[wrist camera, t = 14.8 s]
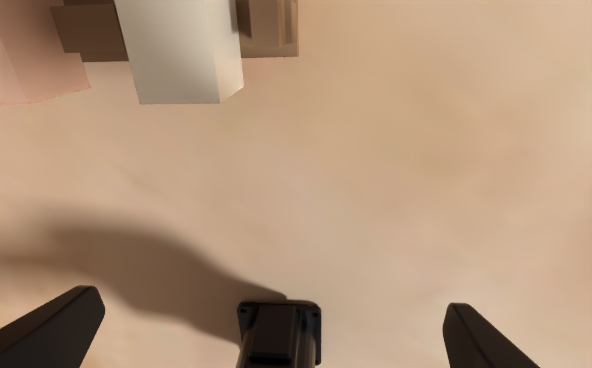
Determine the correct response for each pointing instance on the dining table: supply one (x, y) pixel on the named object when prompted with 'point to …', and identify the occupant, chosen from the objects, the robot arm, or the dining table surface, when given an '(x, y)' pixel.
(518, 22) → the dining table surface
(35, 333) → the robot arm
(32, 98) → the clay strip
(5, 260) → the dining table surface
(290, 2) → the rack
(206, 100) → the strip
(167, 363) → the dining table surface
